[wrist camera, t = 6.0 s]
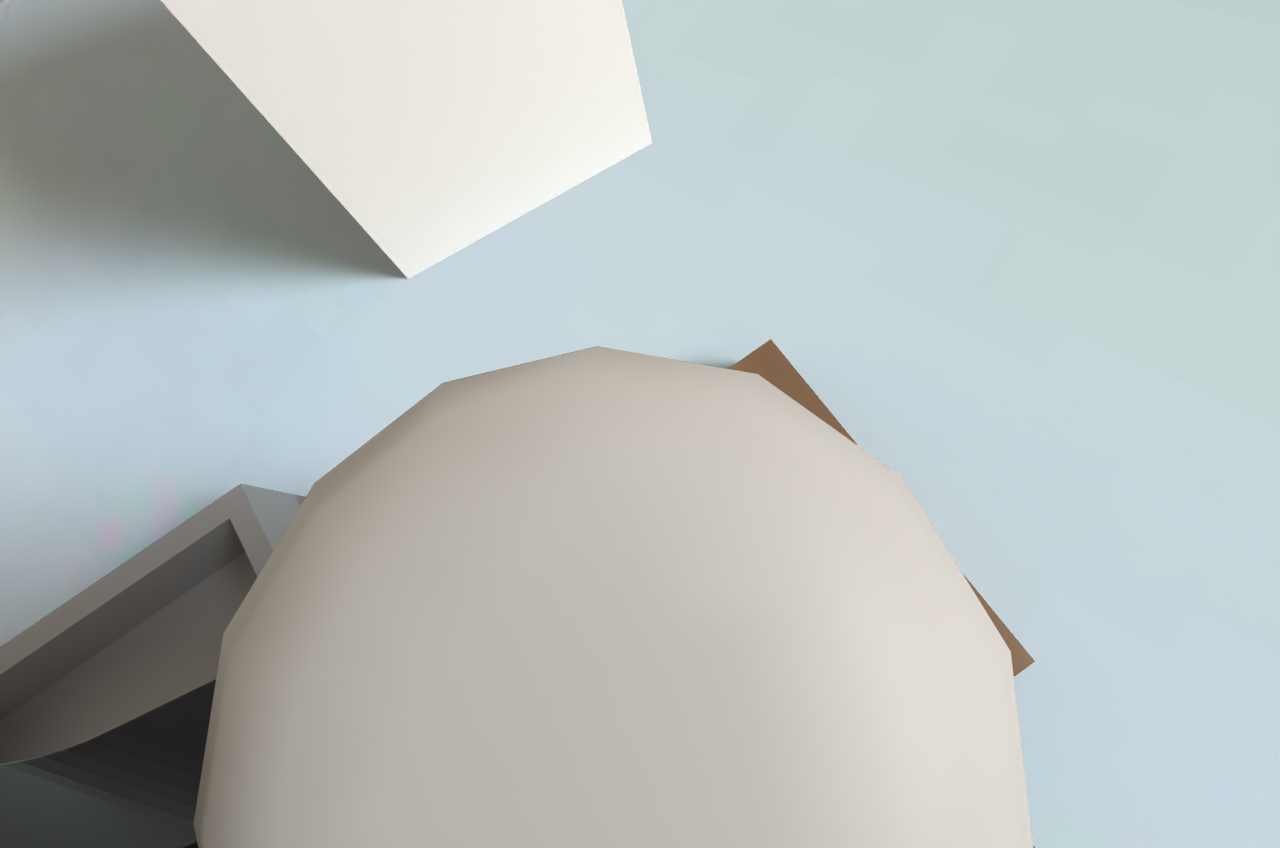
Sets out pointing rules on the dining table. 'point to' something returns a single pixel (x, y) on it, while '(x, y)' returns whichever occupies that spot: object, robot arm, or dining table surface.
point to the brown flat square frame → (790, 382)
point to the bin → (138, 628)
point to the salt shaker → (612, 635)
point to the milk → (434, 104)
